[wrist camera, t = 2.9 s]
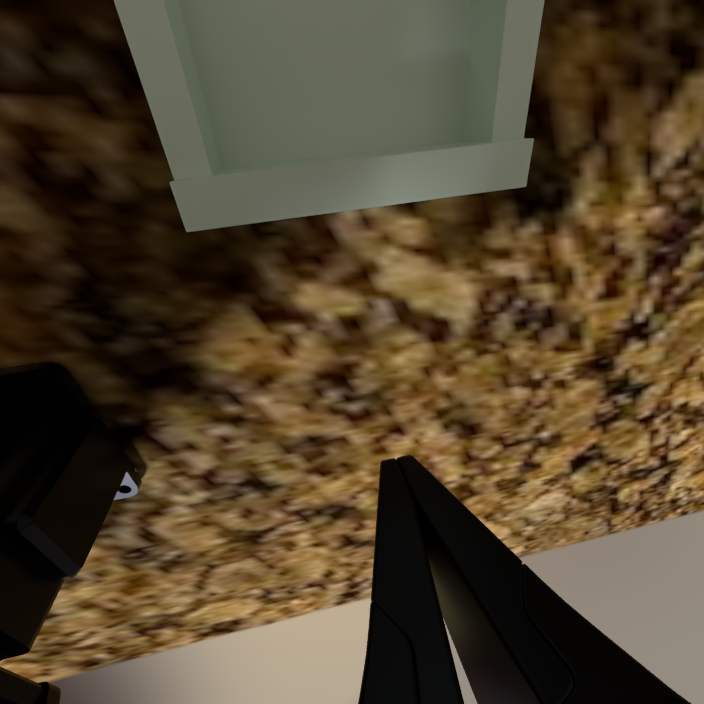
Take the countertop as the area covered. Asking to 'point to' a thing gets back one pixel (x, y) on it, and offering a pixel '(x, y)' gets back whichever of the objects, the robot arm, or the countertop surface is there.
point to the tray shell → (334, 101)
